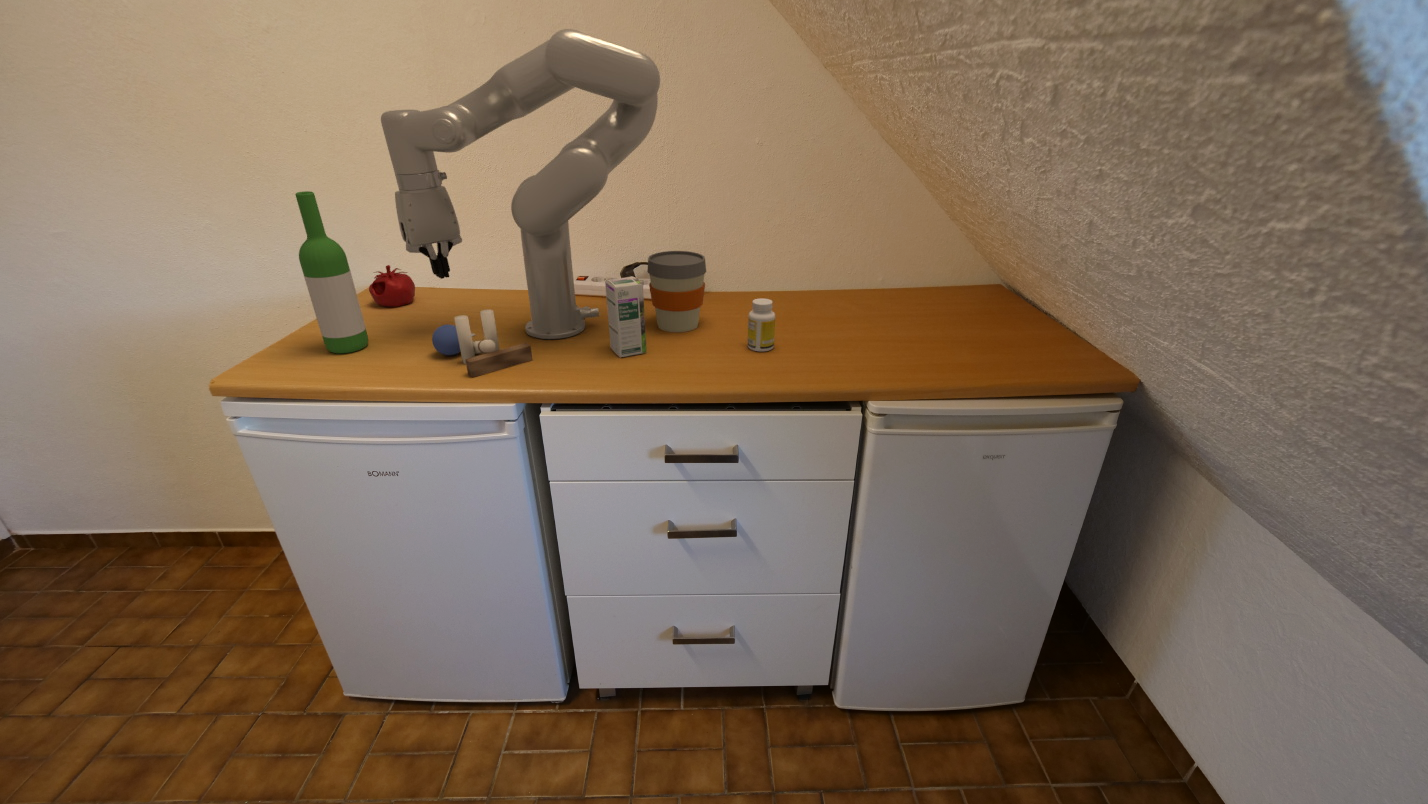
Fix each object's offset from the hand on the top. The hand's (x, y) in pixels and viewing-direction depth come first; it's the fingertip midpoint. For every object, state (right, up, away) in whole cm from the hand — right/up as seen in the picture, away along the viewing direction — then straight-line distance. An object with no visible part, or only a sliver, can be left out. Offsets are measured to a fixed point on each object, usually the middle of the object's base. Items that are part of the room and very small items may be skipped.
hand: (442, 276), depth 127 cm
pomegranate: (-22, -2, +24) cm, 32 cm away
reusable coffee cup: (+47, -8, +12) cm, 49 cm away
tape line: (+1, -12, +3) cm, 13 cm away
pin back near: (+12, -16, -3) cm, 20 cm away
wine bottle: (-19, -15, -1) cm, 24 cm away
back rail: (+15, -19, -8) cm, 25 cm away
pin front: (+7, -15, -3) cm, 17 cm away
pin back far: (+8, -18, -6) cm, 20 cm away
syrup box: (+38, -15, -1) cm, 41 cm away
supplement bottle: (+65, -14, +2) cm, 66 cm away
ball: (+3, -13, -5) cm, 15 cm away
